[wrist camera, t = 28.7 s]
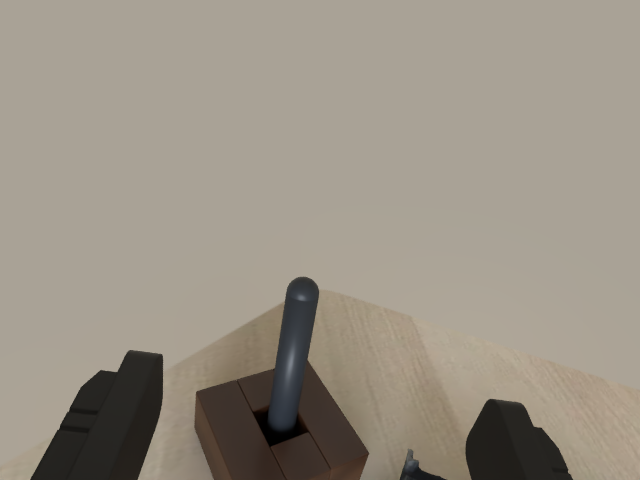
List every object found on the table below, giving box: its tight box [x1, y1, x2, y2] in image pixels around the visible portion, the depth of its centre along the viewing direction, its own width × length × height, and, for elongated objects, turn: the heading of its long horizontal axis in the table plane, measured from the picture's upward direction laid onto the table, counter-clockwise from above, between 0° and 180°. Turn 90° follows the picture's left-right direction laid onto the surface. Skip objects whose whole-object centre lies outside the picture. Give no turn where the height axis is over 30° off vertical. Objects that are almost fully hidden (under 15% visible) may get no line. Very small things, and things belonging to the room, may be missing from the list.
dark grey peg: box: [265, 277, 319, 447], centre depth 28 cm, size 2×2×13 cm
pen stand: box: [194, 360, 369, 480], centre depth 30 cm, size 8×8×4 cm
